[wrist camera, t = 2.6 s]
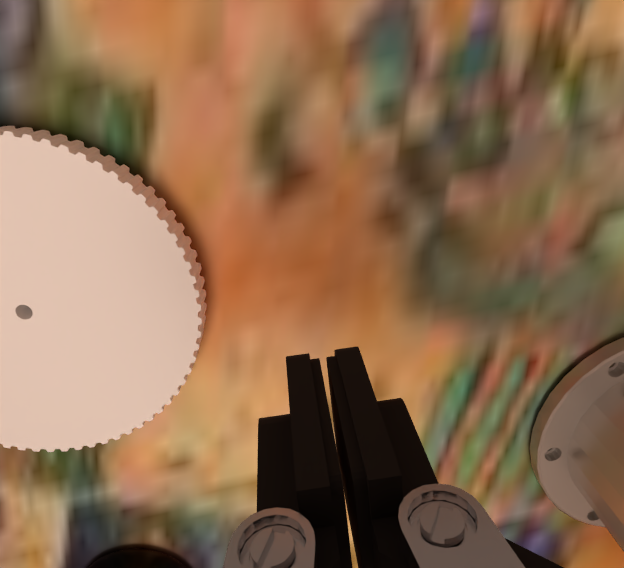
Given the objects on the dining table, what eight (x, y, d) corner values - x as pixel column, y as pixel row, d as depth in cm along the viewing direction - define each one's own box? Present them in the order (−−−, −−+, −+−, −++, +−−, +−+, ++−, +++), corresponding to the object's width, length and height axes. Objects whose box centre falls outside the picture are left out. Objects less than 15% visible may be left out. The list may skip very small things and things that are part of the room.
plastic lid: (225, 405, 25) (219, 439, 23) (-60, 427, 25) (-95, 463, 22) (186, 114, 20) (174, 119, 18) (-179, 132, 19) (-242, 140, 17)
